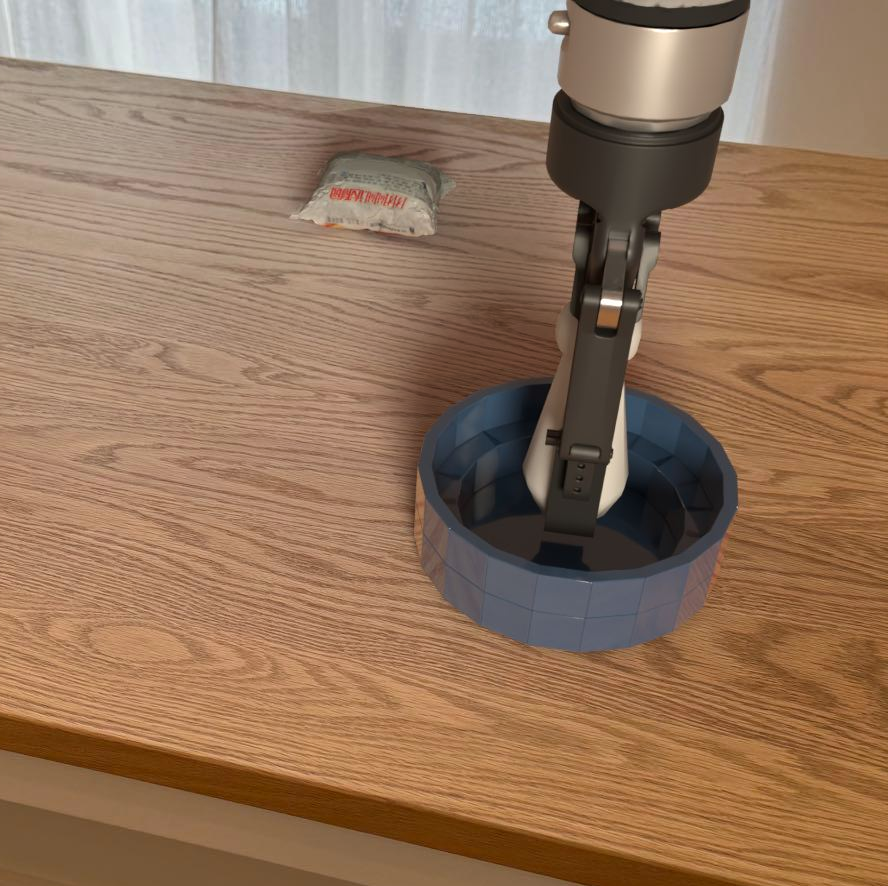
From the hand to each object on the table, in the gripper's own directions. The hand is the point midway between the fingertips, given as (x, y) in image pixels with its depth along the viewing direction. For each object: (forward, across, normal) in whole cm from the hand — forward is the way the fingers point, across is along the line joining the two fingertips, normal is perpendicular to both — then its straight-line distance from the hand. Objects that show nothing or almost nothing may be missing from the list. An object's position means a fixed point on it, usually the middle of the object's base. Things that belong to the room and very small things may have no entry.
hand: (573, 491), depth 70 cm
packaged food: (+5, -35, -18) cm, 40 cm away
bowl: (+4, 0, 0) cm, 4 cm away
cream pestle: (+1, 0, 0) cm, 1 cm away
